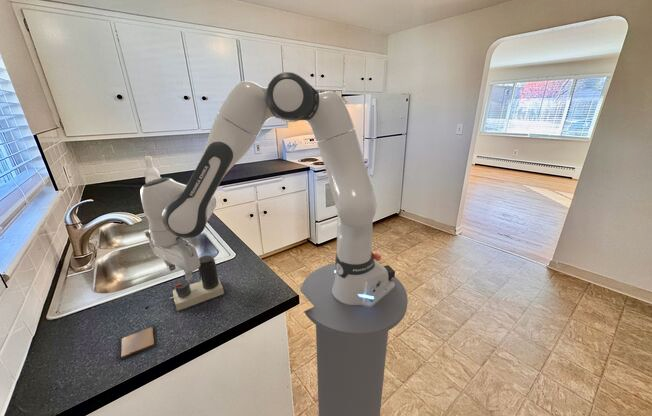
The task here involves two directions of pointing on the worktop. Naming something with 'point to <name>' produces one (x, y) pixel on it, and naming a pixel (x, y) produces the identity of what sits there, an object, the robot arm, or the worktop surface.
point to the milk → (151, 177)
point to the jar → (208, 272)
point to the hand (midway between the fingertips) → (180, 274)
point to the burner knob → (183, 289)
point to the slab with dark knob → (196, 295)
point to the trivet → (137, 342)
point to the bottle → (150, 166)
